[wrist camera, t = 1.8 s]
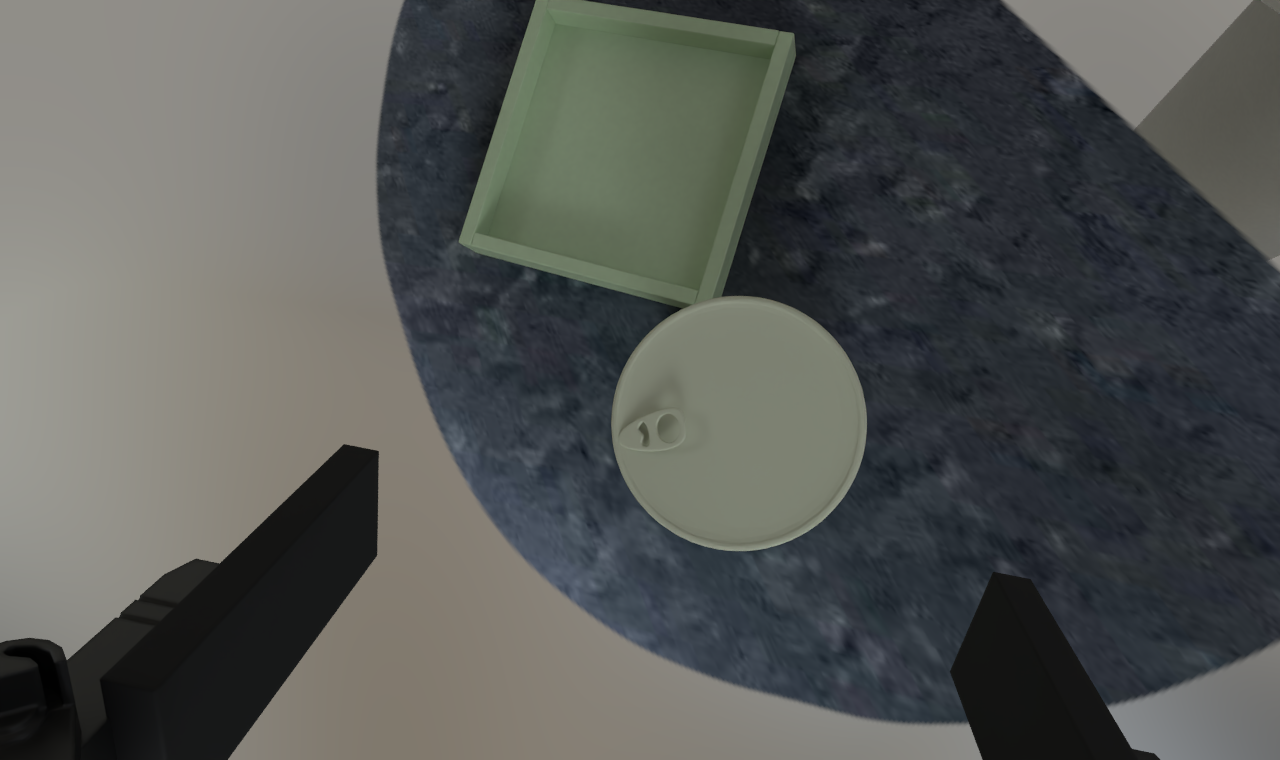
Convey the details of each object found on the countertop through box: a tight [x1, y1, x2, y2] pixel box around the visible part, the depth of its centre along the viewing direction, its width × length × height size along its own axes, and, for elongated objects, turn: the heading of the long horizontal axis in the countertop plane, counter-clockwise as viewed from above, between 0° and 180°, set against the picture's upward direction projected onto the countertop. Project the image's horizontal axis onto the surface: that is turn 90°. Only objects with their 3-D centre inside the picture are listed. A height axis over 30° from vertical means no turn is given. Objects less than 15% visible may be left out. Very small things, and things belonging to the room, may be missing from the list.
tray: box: [459, 0, 796, 309], centre depth 39 cm, size 15×15×2 cm
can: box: [611, 296, 867, 551], centre depth 31 cm, size 9×9×12 cm
